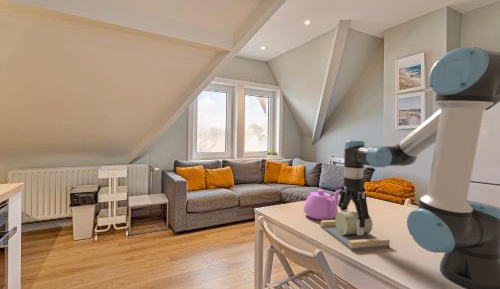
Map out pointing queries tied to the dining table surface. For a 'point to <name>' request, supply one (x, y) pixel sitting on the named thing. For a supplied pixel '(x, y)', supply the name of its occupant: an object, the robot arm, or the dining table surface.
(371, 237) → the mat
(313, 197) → the teapot
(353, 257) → the dining table surface
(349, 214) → the can
